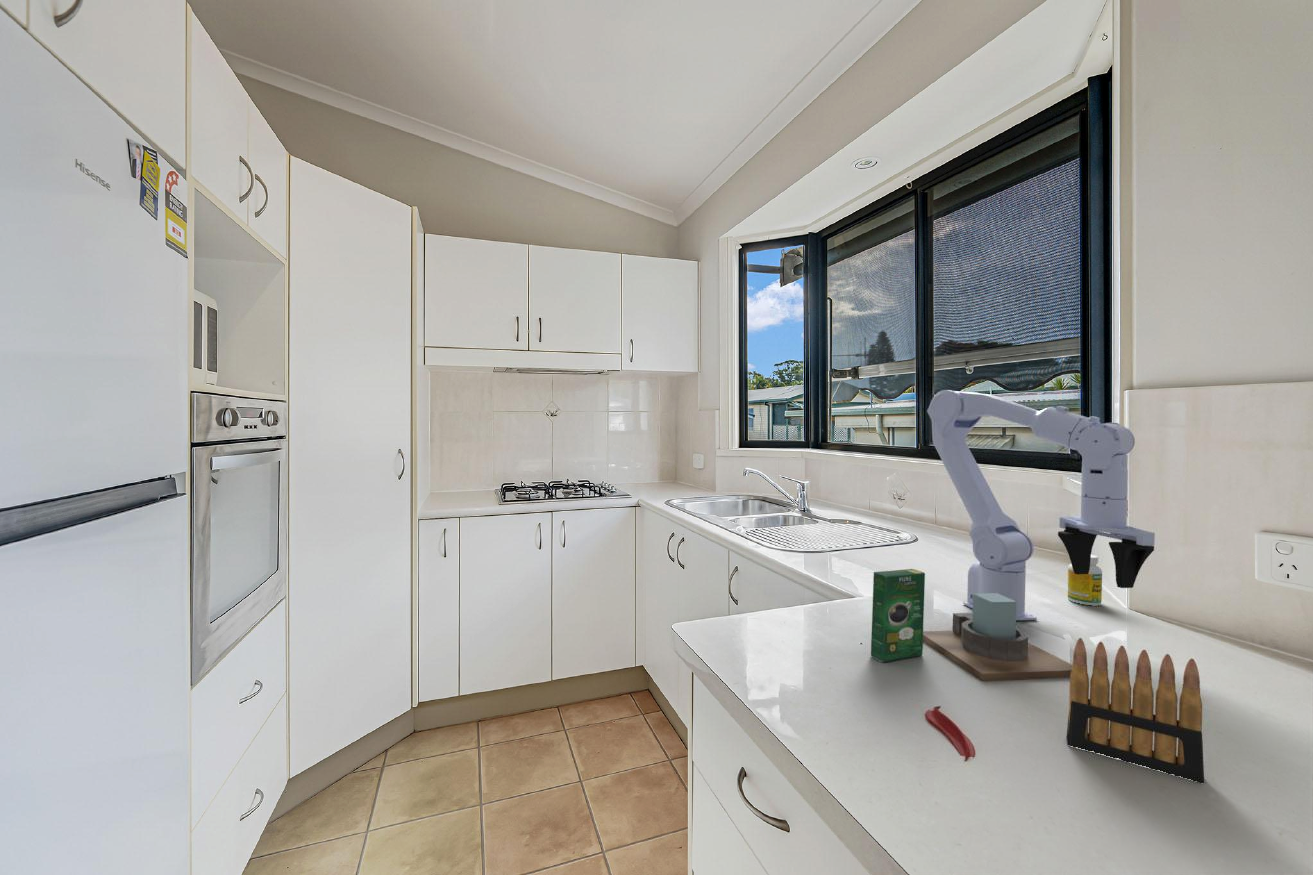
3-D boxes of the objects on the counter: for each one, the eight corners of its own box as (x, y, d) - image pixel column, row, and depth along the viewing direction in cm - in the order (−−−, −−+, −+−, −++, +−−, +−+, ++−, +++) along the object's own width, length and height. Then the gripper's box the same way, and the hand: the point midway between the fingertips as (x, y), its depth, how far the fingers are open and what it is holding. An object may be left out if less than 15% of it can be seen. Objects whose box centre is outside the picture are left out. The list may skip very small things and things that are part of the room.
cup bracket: (918, 637, 88) (918, 613, 88) (1002, 634, 89) (1002, 611, 89) (982, 680, 73) (983, 652, 73) (1081, 676, 74) (1082, 648, 74)
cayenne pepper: (923, 705, 67) (923, 690, 67) (964, 714, 65) (965, 698, 65) (928, 758, 56) (928, 740, 56) (978, 770, 54) (979, 752, 54)
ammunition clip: (1067, 746, 58) (1070, 638, 58) (1066, 738, 60) (1068, 633, 59) (1204, 784, 52) (1208, 664, 52) (1199, 774, 53) (1202, 657, 53)
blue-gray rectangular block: (972, 644, 83) (973, 593, 83) (995, 643, 83) (996, 593, 83) (990, 655, 79) (991, 602, 79) (1015, 654, 79) (1016, 601, 79)
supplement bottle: (1073, 596, 110) (1074, 550, 110) (1105, 603, 106) (1106, 556, 105) (1063, 600, 107) (1064, 554, 107) (1095, 608, 103) (1096, 559, 102)
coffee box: (910, 648, 83) (911, 566, 83) (925, 656, 81) (926, 571, 80) (869, 655, 81) (870, 571, 80) (883, 663, 78) (885, 576, 78)
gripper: (1043, 491, 92) (1042, 568, 92) (1125, 503, 78) (1123, 594, 78) (1080, 491, 93) (1079, 568, 93) (1168, 503, 79) (1166, 593, 79)
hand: (1102, 580), depth 86 cm, fingers open, 7 cm apart
